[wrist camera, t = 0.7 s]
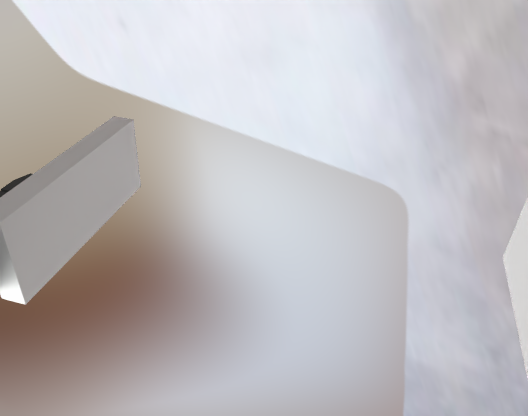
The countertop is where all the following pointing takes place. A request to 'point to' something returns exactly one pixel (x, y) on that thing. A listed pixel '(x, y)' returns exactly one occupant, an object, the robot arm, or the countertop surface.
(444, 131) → the countertop surface
